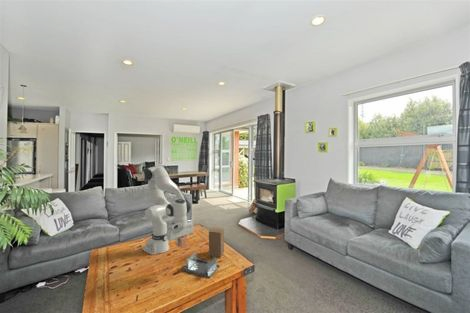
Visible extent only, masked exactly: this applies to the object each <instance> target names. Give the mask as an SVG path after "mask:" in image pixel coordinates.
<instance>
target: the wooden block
mask: <svg viewBox="0 0 470 313" xmlns="http://www.w3.org/2000/svg"><path fill="white" fill-rule="evenodd" d="M224 231H225V229H224V227H216V226H215V227H214V226H213V227H211V229H210V230H209V231H208V256H209V257H212V258H213V257H216V258H222V256H223V254H224V252H225V232H224Z"/></svg>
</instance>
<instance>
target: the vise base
mask: <svg viewBox="0 0 470 313" xmlns="http://www.w3.org/2000/svg"><path fill="white" fill-rule="evenodd" d="M219 268H220V265H219V264H217V257H212V258H211V259H209V260H208V261H207V260H203V259H199V258H197V262H196V263H194V264H193V265H192V266H191V267H190V268H186V265H185V266H183V268H182V271H183V272H187V273H188V274H194V275H197V276H200V277H204V278H209V279H210V278H211V277H212V276H213V275H214V274H215V273H216V271H217V270H218V269H219Z"/></svg>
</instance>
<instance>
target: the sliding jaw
mask: <svg viewBox="0 0 470 313" xmlns="http://www.w3.org/2000/svg"><path fill="white" fill-rule="evenodd" d="M197 259H198V252H194V253H192V254H191V255H190V256H189V257H187V258H186V259H185V266H186V268H190V267H191V266H192V265H193V264H194V263H196V262H197Z"/></svg>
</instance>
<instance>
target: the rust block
mask: <svg viewBox="0 0 470 313" xmlns="http://www.w3.org/2000/svg"><path fill="white" fill-rule="evenodd" d="M177 240H178V241H179V244H176V243H175V246H177V247H178V248H181V249H183V248H186V247H187V245H188V244H187V238H186V237H184V236H182V237H179V238H178V239H177Z"/></svg>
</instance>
